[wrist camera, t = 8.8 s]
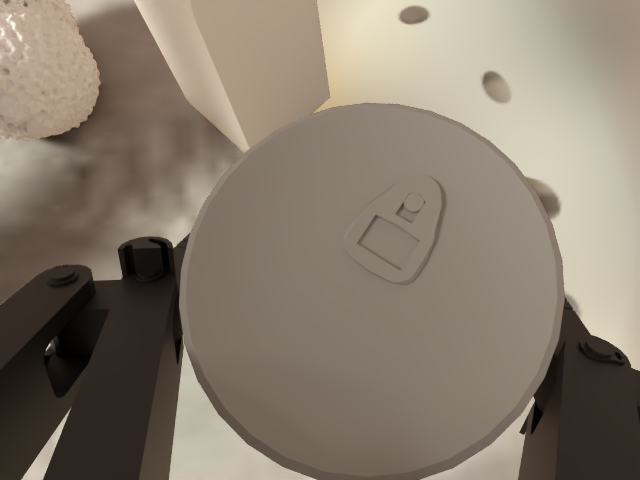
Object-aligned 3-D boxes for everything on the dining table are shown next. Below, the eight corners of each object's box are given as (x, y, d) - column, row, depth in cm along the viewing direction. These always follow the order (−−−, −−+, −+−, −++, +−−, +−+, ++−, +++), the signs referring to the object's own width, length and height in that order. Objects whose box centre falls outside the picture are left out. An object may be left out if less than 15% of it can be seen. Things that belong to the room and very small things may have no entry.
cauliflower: (-148, 34, 39) (-228, -126, 27) (28, 6, 50) (29, -118, 38) (-5, 192, 43) (-17, 116, 30) (131, 133, 54) (163, 59, 41)
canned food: (454, 268, 19) (595, 144, 8) (411, 441, 16) (530, 577, 6) (305, 223, 20) (262, 65, 9) (247, 379, 18) (104, 400, 7)
